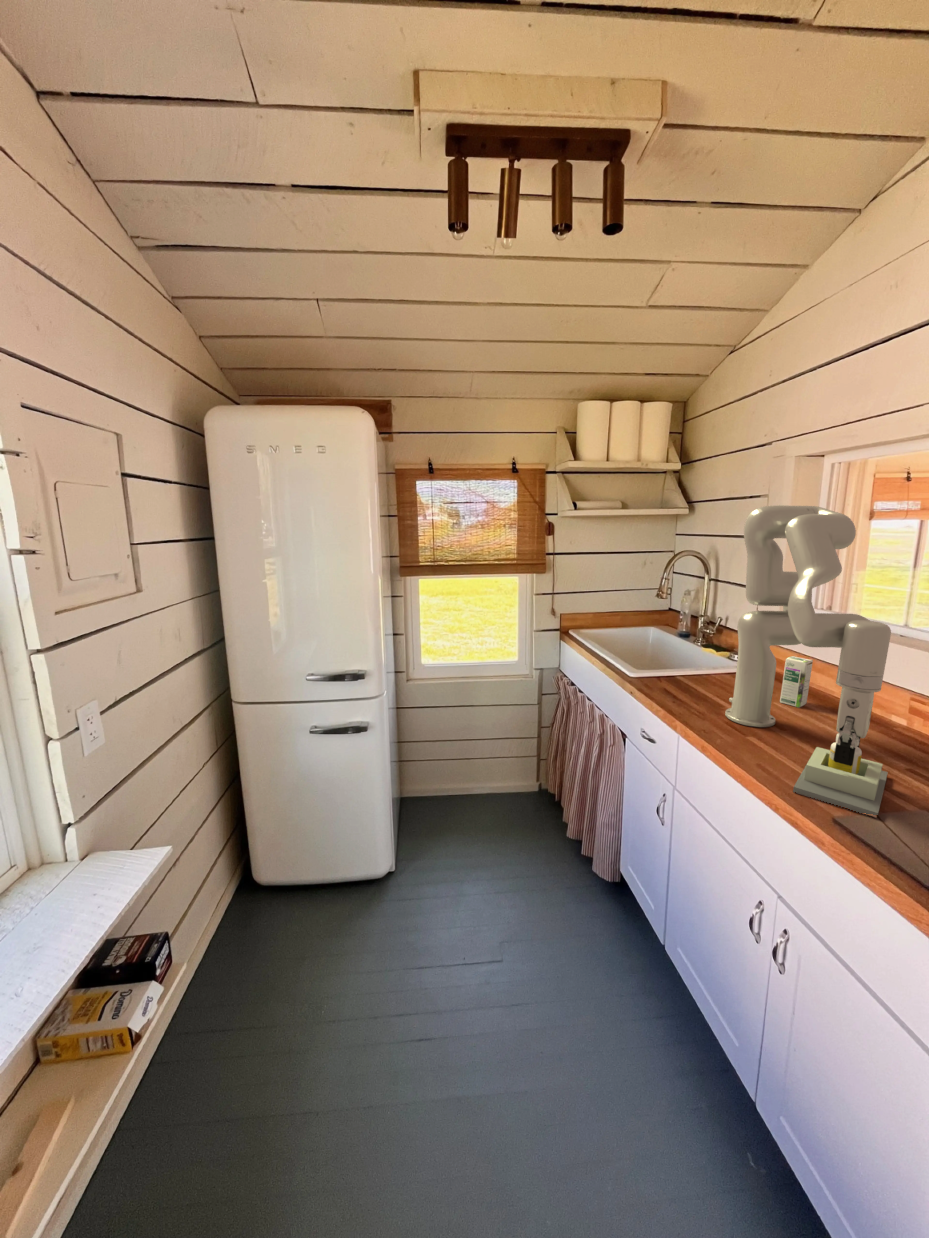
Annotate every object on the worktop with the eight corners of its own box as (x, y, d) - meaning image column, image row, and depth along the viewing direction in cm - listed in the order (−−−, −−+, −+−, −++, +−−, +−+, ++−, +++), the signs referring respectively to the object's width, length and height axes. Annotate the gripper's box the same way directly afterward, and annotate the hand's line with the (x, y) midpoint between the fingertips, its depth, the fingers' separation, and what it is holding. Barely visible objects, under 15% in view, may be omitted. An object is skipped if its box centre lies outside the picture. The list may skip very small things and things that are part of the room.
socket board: (877, 818, 98) (881, 796, 97) (792, 791, 107) (795, 771, 106) (886, 776, 114) (890, 757, 113) (812, 756, 123) (815, 738, 122)
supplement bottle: (844, 772, 113) (851, 731, 111) (863, 784, 108) (871, 742, 106) (820, 772, 113) (826, 731, 111) (838, 785, 108) (845, 742, 106)
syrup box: (778, 702, 159) (785, 658, 156) (787, 698, 162) (793, 655, 159) (799, 708, 154) (806, 662, 151) (807, 704, 158) (813, 659, 155)
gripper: (877, 694, 97) (863, 776, 100) (885, 674, 109) (872, 747, 113) (830, 685, 102) (817, 763, 105) (843, 667, 114) (831, 737, 118)
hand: (846, 755), depth 109 cm, fingers open, 9 cm apart
